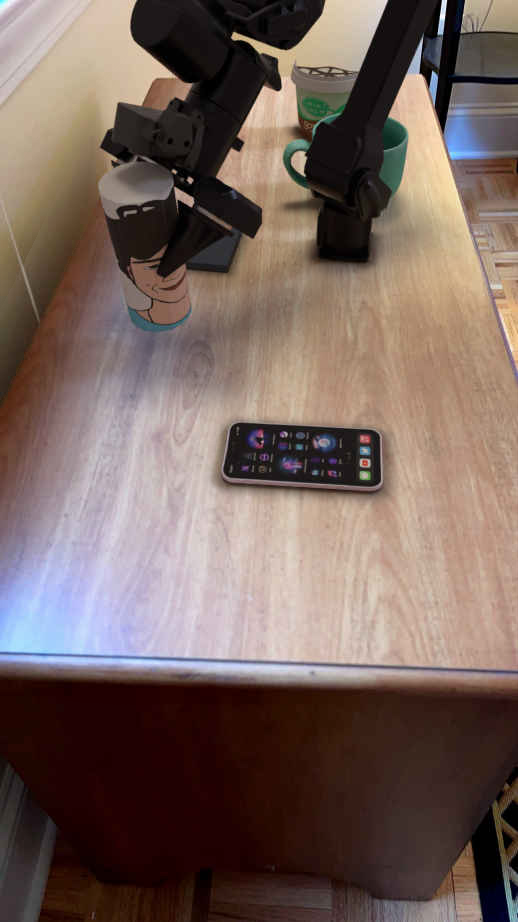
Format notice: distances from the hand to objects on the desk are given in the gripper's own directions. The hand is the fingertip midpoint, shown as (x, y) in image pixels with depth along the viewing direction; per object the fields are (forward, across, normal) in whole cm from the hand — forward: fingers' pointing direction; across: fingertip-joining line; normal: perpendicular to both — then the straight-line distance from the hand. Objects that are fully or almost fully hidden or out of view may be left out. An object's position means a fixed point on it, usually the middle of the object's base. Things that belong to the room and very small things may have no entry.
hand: (139, 261), depth 68 cm
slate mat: (-3, -14, +20) cm, 25 cm away
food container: (-27, -24, +45) cm, 58 cm away
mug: (-19, -9, +36) cm, 42 cm away
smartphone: (+8, +22, +9) cm, 25 cm away
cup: (+4, 0, +6) cm, 7 cm away
